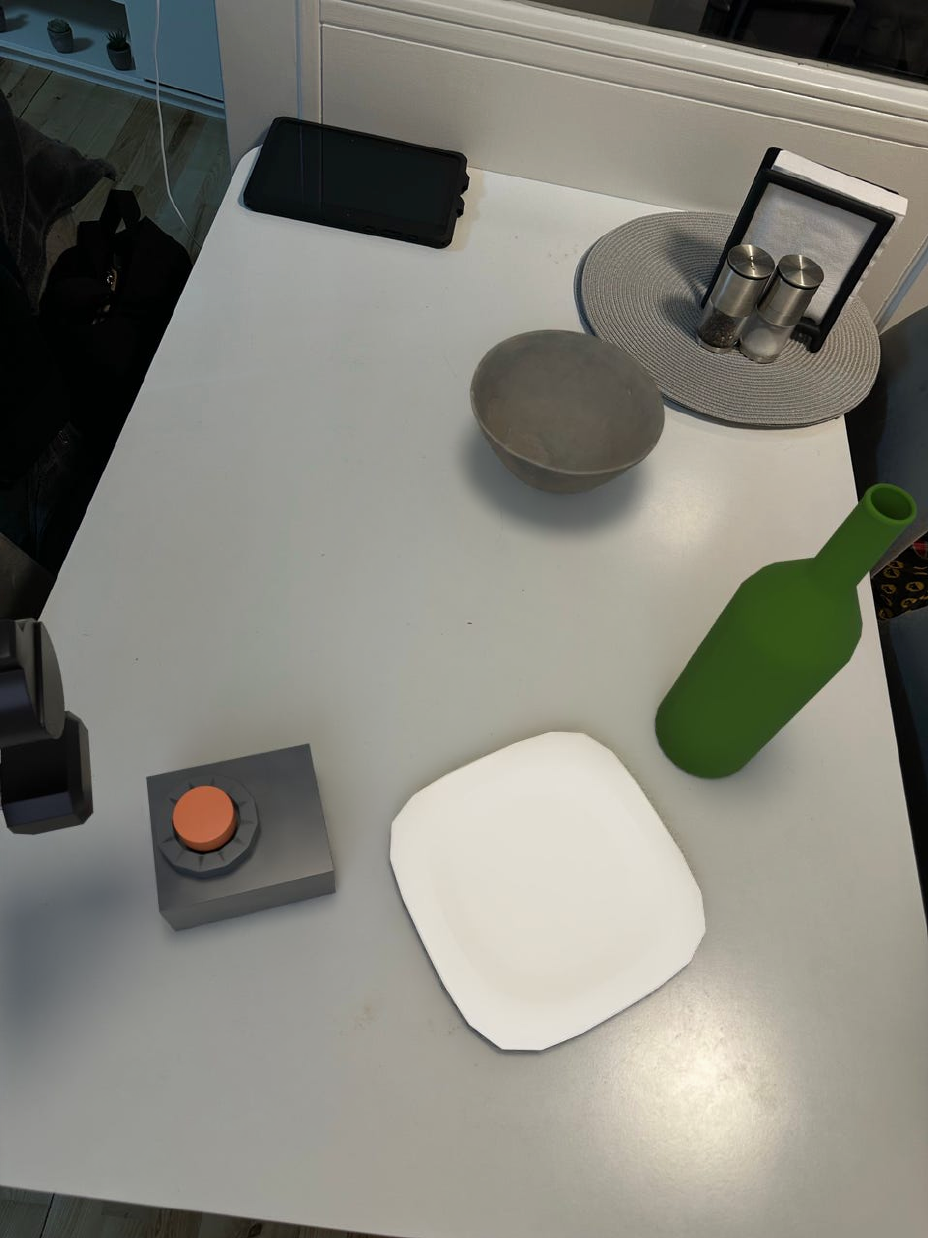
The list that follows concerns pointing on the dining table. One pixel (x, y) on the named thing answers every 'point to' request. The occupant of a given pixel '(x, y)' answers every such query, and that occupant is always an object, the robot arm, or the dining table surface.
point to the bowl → (566, 409)
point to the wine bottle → (777, 644)
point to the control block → (243, 840)
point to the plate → (545, 889)
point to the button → (204, 818)
